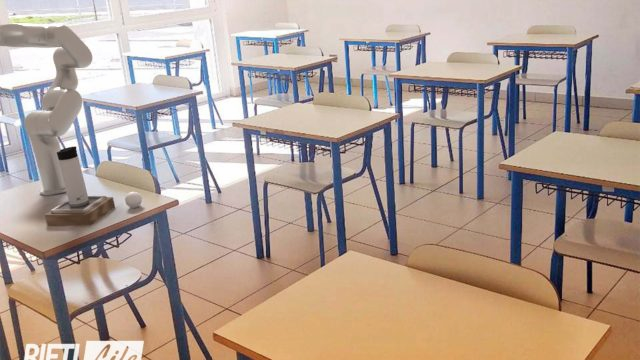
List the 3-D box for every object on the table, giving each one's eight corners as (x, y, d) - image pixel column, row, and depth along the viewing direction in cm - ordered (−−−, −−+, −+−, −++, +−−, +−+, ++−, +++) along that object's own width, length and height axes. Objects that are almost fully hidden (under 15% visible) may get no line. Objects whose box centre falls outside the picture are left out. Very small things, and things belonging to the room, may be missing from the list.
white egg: (145, 207, 221) (141, 192, 220) (128, 211, 219) (125, 196, 217) (140, 201, 228) (137, 186, 226) (124, 205, 226) (121, 190, 224)
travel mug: (84, 207, 214) (70, 149, 208) (66, 207, 216) (51, 151, 209) (93, 200, 220) (80, 144, 214) (76, 201, 221) (62, 145, 215)
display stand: (75, 207, 229) (72, 194, 227) (115, 207, 224) (112, 194, 223) (47, 225, 214) (43, 212, 212) (89, 225, 210) (86, 211, 208)
